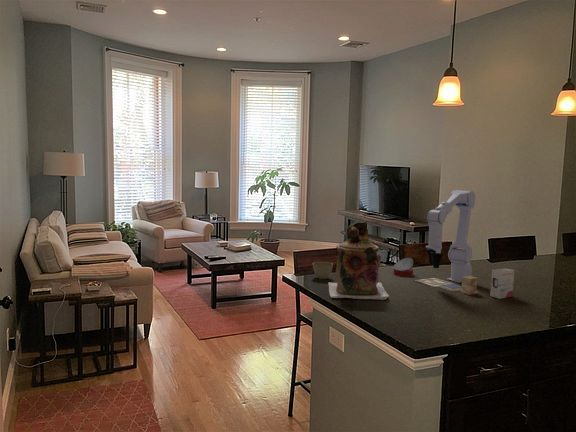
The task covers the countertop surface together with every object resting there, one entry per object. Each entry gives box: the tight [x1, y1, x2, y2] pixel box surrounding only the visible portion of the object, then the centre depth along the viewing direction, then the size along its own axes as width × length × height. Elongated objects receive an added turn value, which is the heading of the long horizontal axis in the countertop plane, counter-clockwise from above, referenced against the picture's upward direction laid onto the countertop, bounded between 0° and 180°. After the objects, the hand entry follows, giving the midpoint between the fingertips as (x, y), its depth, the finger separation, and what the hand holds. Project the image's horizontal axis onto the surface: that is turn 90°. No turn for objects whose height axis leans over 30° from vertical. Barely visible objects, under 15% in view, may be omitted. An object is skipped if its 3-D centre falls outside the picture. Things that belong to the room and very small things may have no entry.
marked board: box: [414, 277, 456, 288], centre depth 236 cm, size 13×13×1 cm
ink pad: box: [439, 283, 462, 292], centre depth 226 cm, size 8×8×1 cm
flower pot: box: [312, 261, 334, 280], centre depth 242 cm, size 10×10×7 cm
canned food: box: [392, 257, 414, 277], centre depth 254 cm, size 11×10×10 cm
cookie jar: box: [327, 219, 390, 301], centre depth 213 cm, size 25×25×32 cm
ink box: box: [489, 267, 515, 300], centre depth 213 cm, size 9×5×12 cm, turn 116°
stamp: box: [459, 275, 478, 296], centre depth 218 cm, size 5×5×7 cm
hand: (434, 266), depth 225 cm, fingers open, 7 cm apart
